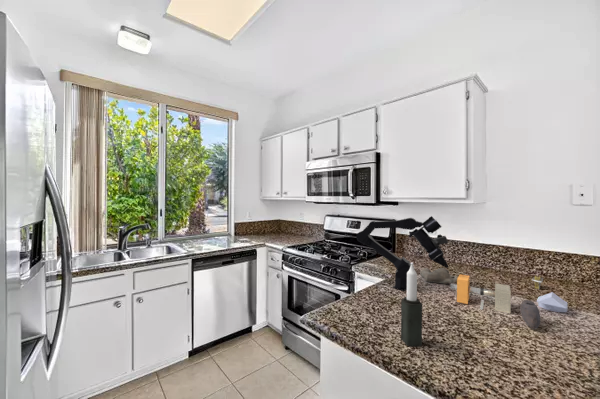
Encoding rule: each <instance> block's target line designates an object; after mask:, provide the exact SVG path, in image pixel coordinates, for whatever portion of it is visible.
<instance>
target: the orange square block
mask: <svg viewBox="0 0 600 399" xmlns="http://www.w3.org/2000/svg"><path fill="white" fill-rule="evenodd" d="M470 278H471V277H470V275H465V274H459V275H458V276H457V281H456V284H457V290H456V302H457V303H460V304H465V305H469V304H468V303H469V300H470V293H469V292H468V287H471V286H470V280H471V279H470Z"/></svg>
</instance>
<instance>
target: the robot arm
mask: <svg viewBox="0 0 600 399" xmlns="http://www.w3.org/2000/svg"><path fill="white" fill-rule="evenodd" d="M442 227H443V226H442V225H441V224H440V222H438V221H437V220H436V219H435V218H434V217H433V216H432V215H431V216H429V217H428V218H427V219H426V220H425V221H423V222H422V221H418V220H416V219H415V218H413V217H408V218H403V219H398V220H381V221H380V220H379V221H375V220H372V221H369V224H367V226H366V227H364V228H363V230H361V231H359V232H357V234H356V240H357V242H359V243H361V244H363V245H364V246H367V247H369V248H371V249H373V250H374V251H375V252H376V253H378V254H379V255H381V256H382V257H383V258H385V259H386V260H388V261H389V262H390V263H392V264H393V266H394V268H396V270H395V273H394V274H395V275H394V277H395V278H394V285H393V286H392V288H393V289H396V290H399V291H403V292H404V291H407V272H408V271H409V269H410V266H411V261H410V260H407V258H406V257H405V256H402V257H398V256H397V255H395V254H394V253H393V252H391V251H390V250H389V249H387V248H386V247H385V246H383V245H382V244H380V243H379V242H378V241H376V240H375V239H374V237H373V236H372V235H371V233H372V232H374V230H375V229H403V230H409V232H408V235H409V238H411V237H414V238H415V239H416V241H417V242H418V243H419V244H420V246H421V247H423V249H424V250H425V251H426V253H427V254H428V258H429V259H430V260H431V261H433V262H435V263H437V264H438V265H441V266H442V267H443V268H445V269H448V268H449V267H450V266H449V265H448V263H447V261H446V259H445V257H444V251H443V250H442V248H441V246H440V245H447V244H449V241H448V238H447V236H446V235H441V234H438V235H436V237H435V238H433V237H431V236H430V235H429V234H433V233H435V232H436V231H438V230H440V229H441V228H442Z"/></svg>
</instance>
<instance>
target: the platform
mask: <svg viewBox="0 0 600 399" xmlns="http://www.w3.org/2000/svg"><path fill="white" fill-rule="evenodd" d="M531 281H533V282H534V288H535V289H538V290H540V289H541V287H540V286H541V284H543V281H544V277H541V275H539V277H538V276H537V274H535V276H533V277H532V278H531Z"/></svg>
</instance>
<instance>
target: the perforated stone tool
mask: <svg viewBox="0 0 600 399" xmlns="http://www.w3.org/2000/svg"><path fill="white" fill-rule="evenodd" d="M538 308H539V307H538V305H537V304H536V303H534V301H532V300H528V299H525V300H523V301H521V303H520V307H519V310H520V315H521V317H522V319H523V321H524V323H525V324H526V326H528V328H530V329H534V330H537V329H538V328H539V327H540V325H541V313H540V311H539V310H540V309H538Z"/></svg>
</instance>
